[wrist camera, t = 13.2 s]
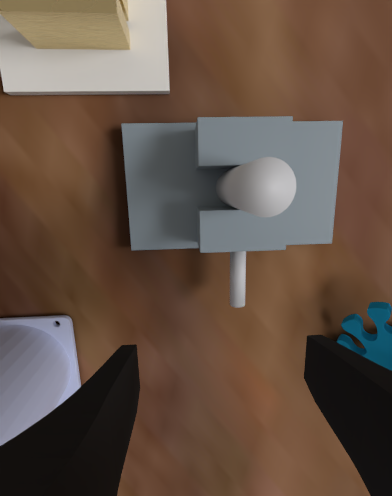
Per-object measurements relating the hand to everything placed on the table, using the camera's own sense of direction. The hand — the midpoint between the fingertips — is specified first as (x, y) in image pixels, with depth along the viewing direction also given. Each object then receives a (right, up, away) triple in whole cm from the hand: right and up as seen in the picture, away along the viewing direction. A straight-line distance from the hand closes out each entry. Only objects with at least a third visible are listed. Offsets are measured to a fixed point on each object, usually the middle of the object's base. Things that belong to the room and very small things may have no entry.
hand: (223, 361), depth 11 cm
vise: (+1, +7, +8) cm, 11 cm away
